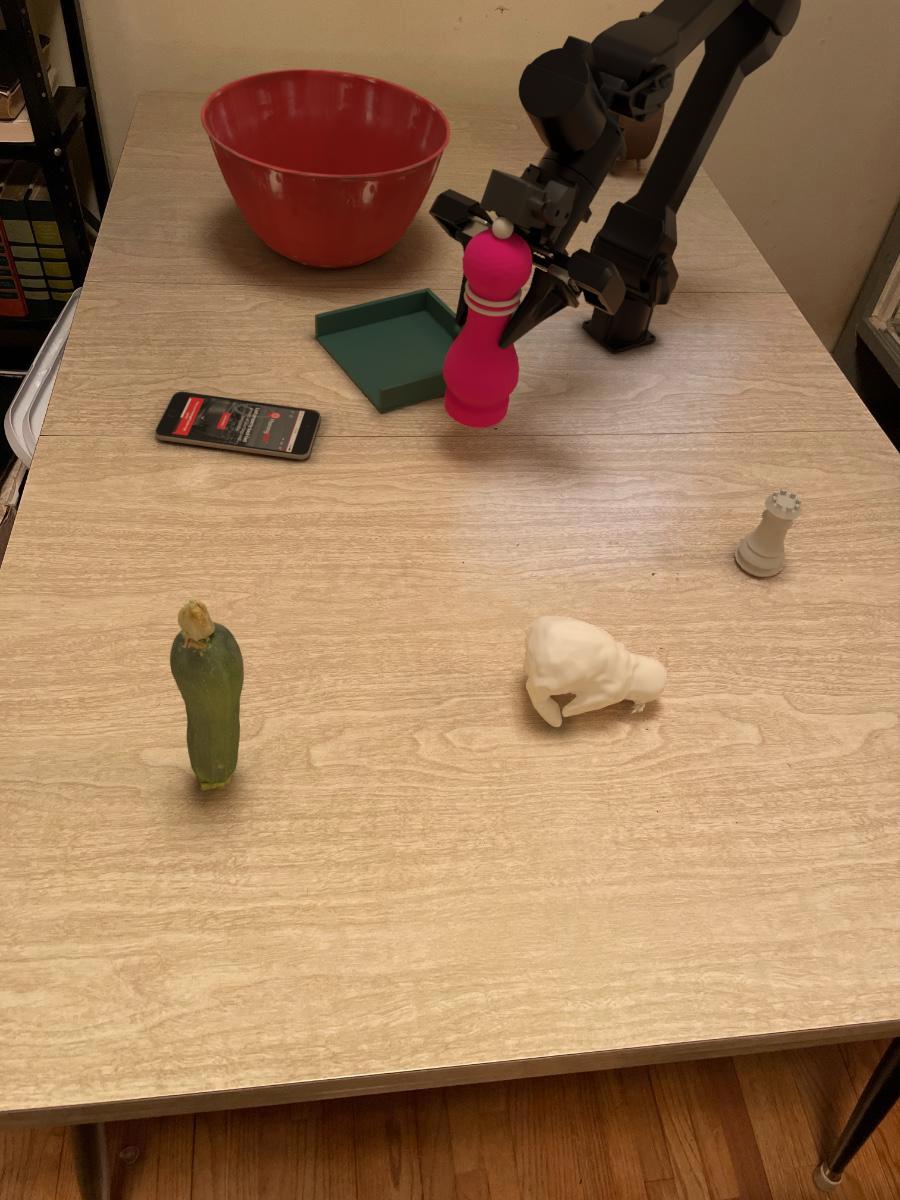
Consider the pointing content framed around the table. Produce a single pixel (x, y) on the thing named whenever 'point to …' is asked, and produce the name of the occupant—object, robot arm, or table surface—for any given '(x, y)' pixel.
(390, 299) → the scoop
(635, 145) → the alarm clock
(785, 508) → the rook chess piece
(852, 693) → the table surface
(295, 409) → the smartphone
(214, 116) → the mixing bowl
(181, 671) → the vegetable
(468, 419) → the pepper mill
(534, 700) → the cream lumpy piece
